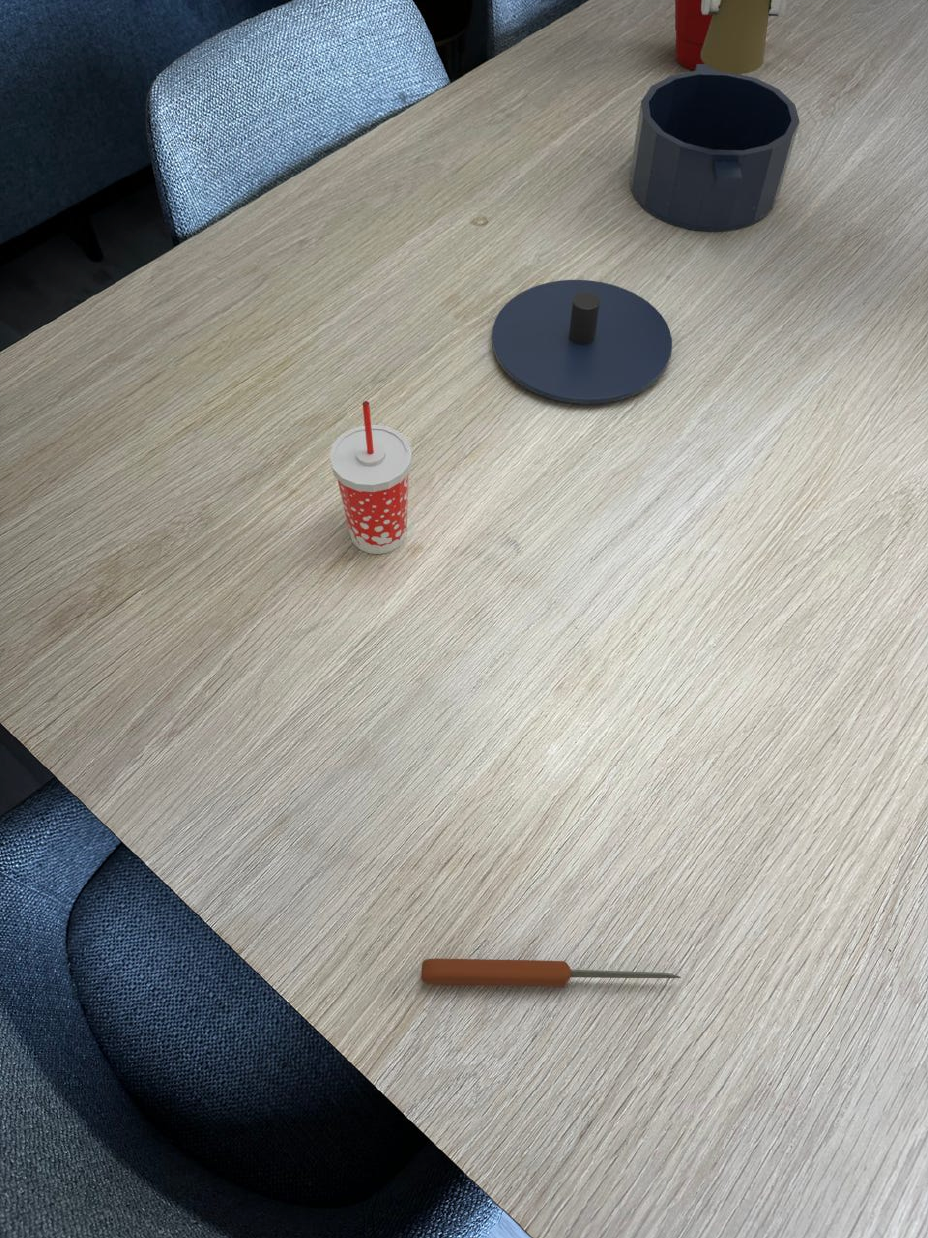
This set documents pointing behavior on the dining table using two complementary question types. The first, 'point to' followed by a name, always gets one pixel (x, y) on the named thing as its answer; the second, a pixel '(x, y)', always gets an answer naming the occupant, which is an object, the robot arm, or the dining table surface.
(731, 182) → the pot
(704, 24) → the plastic cup
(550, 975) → the orange-handled awl
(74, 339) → the dining table surface
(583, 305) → the lid
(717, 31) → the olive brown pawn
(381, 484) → the beverage cup
